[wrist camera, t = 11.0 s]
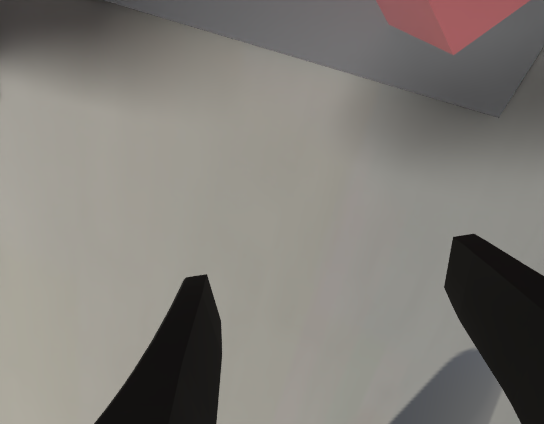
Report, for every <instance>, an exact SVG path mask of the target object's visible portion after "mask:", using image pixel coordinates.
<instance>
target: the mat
mask: <svg viewBox="0 0 544 424" xmlns="http://www.w3.org/2000/svg"><path fill="white" fill-rule="evenodd" d="M104 1H107V2H111V3H114V4H117V5H121V6H124V7H127V8H131V9H134V10H138V11H141V12H144V13H148V14H151V15H154V16H158V17H161V18H165V19H168V20H171V21H175V22H178V23H181V24H185V25H188V26H191V27H195V28H198V29H202V30H205V31H208V32H212V33H215V34H218V35H222V36H225V37H228V38H232V39H235V40H239V41H242V42H245V43H249V44H252V45H255V46H259V47H262V48H266V49H269V50H272V51H276V52H279V53H282V54H286V55H289V56H292V57H296V58H299V59H303V60H306V61H309V62H313V63H316V64H319V65H323V66H326V67H329V68H333V69H336V70H340V71H343V72H346V73H350V74H353V75H356V76H360V77H363V78H367V79H370V80H373V81H377V82H380V83H383V84H387V85H390V86H393V87H397V88H400V89H404V90H407V91H410V92H414V93H417V94H420V95H424V96H427V97H430V98H434V99H437V100H441V101H444V102H447V103H451V104H454V105H457V106H461V107H464V108H468V109H471V110H474V111H478V112H481V113H484V114H488V115H491V116H494V117H498V118H499V117H500V115H501V113H502V112H503V110H504V109H505V107H506V106H507V104H508V102H509V101H510V99H511V98H512V96H513V94H514V93H515V91H516V90H517V88H518V86H519V85H520V83H521V82H522V80H523V78H524V77H525V75H526V74H527V72H528V70H529V69H530V67H531V66H532V64H533V62H534V61H535V59H536V58H537V56H538V54H539V53H540V51H541V50H542V48H543V46H544V0H530V1H529V2H527V3H526V4H525V5H523V6H522V7H520V8H519V9H518V10H516V11H515V12H513V13H512V14H511V15H509V16H508V17H506V18H505V19H504V20H502V21H501V22H499V23H498V24H497V25H495V26H494V27H492V28H491V29H490V30H488V31H487V32H485V33H484V34H483V35H481V36H480V37H478V38H477V39H476V40H474V41H473V42H471V43H470V44H469V45H467V46H466V47H464V48H463V49H462V50H460V51H459V52H457V53H456V54H455V55H452V54H450V53H448V52H446V51H444V50H442V49H439V48H437V47H435V46H433V45H431V44H429V43H427V42H425V41H423V40H420V39H418V38H416V37H414V36H412V35H410V34H408V33H406V32H404V31H401V30H399V29H397V28H395V27H393V26H391V25H389V24H388V22H387V20H386V18H385V16H384V15H383V13H382V11H381V9H380V7H379V5H378V3H377V2H376V0H104Z"/></svg>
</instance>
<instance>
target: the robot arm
mask: <svg viewBox="0 0 544 424" xmlns="http://www.w3.org/2000/svg"><path fill="white" fill-rule="evenodd" d="M444 288H445V290H446V292H447V295H448V297H449V299H450V302H451V304H452V306H453V308H454V310H455V312H456V314H457V316H458V318H459V320H460V322H461V323H462V325H463V327H464V328H465V330H466V332H467V333H468V335H469V336H470V338H471V340H472V341H473V343H474V344H475V346H476V348H477V349H478V351H479V352H480V354H481V355H482V357H483V359H484V360H485V362H486V363H487V365H488V367H489V368H490V370H491V371H492V373H493V374H494V376H495V378H496V379H497V381H498V382H499V384H500V386H501V387H502V389H503V390H504V392H505V394H506V396H507V397H508V399H509V401H510V403H511V404H512V406H513V408H514V410H515V412H516V414H517V416H518V418H519V420H520V422H521V424H544V276H543V275H541V274H539V273H538V272H536V271H534V270H533V269H531V268H529V267H528V266H526V265H524V264H523V263H521V262H520V261H518V260H516V259H515V258H513V257H512V256H510V255H508V254H507V253H505V252H504V251H502V250H500V249H499V248H497V247H495V246H494V245H492V244H491V243H489V242H487V241H486V240H484V239H482V238H481V237H479V236H477V235H475V234H470V235H463V236H456V237H453V241H452V246H451V252H450V258H449V263H448V269H447V275H446V280H445V286H444ZM221 361H222V336H221V320H220V316H219V313H218V310H217V306H216V303H215V300H214V297H213V293H212V290H211V287H210V283H209V280H208V277H207V274H206V275H200V276H193V277H186V278H185V279H184V281H183V283H182V285H181V287H180V289H179V291H178V293H177V295H176V297H175V299H174V301H173V303H172V305H171V307H170V309H169V311H168V313H167V315H166V317H165V318H164V320H163V322H162V324H161V326H160V327H159V329H158V331H157V333H156V334H155V336H154V338H153V340H152V341H151V343H150V345H149V346H148V348H147V350H146V351H145V353H144V354H143V356H142V358H141V359H140V361H139V362H138V364H137V366H136V367H135V369H134V370H133V372H132V373H131V375H130V376H129V378H128V379H127V381H126V382H125V384H124V385H123V386H122V388H121V389H120V391H119V392H118V393H117V395H116V396H115V397H114V399H113V400H112V402H111V403H110V404H109V406H108V407H107V408H106V410H105V411H104V412H103V413H102V415H101V416H100V417H99V418H98V420H97V421H96V422H95V423H94V424H216V420H217V409H218V397H219V385H220V373H221Z"/></svg>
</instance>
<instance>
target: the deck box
mask: <svg viewBox="0 0 544 424" xmlns="http://www.w3.org/2000/svg"><path fill="white" fill-rule="evenodd" d="M529 1H530V0H376V2H377V3H378V5H379V7H380V9H381V11H382V13H383V15H384V16H385V18H386V20H387V22H388V24H389V25H391V26H393V27H395V28H397V29H399V30H401V31H404V32H406V33H408V34H410V35H412V36H414V37H416V38H418V39H420V40H423V41H425V42H427V43H429V44H431V45H433V46H435V47H437V48H439V49H442V50H444V51H446V52H448V53H450V54H452V55H455V54H456V53H457V52H459V51H460V50H462V49H463V48H464V47H466V46H467V45H469V44H470V43H471V42H473V41H474V40H476V39H477V38H478V37H480V36H481V35H483V34H484V33H485V32H487V31H488V30H490V29H491V28H492V27H494V26H495V25H497V24H498V23H499V22H501V21H502V20H504V19H505V18H506V17H508V16H509V15H511V14H512V13H513V12H515V11H516V10H518V9H519V8H520V7H522V6H523V5H525V4H526V3H527V2H529Z"/></svg>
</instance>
